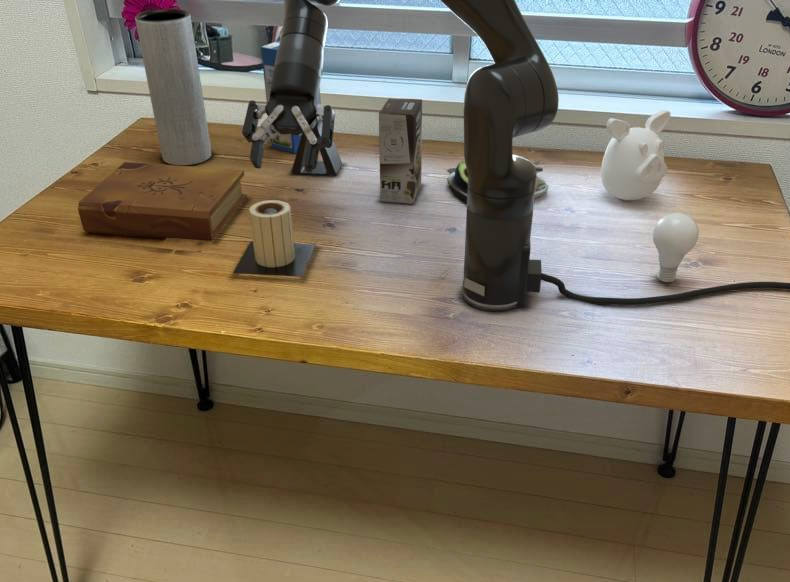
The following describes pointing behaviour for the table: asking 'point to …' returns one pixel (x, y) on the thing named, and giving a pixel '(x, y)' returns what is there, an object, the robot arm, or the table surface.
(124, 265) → the table surface
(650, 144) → the piggy bank
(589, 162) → the table surface
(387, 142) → the coffee box
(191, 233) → the diary
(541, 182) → the salad plate
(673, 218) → the lightbulb
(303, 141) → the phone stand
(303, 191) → the table surface
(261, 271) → the stand
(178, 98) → the vase
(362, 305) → the table surface
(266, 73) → the milk carton
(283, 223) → the wooden cup
